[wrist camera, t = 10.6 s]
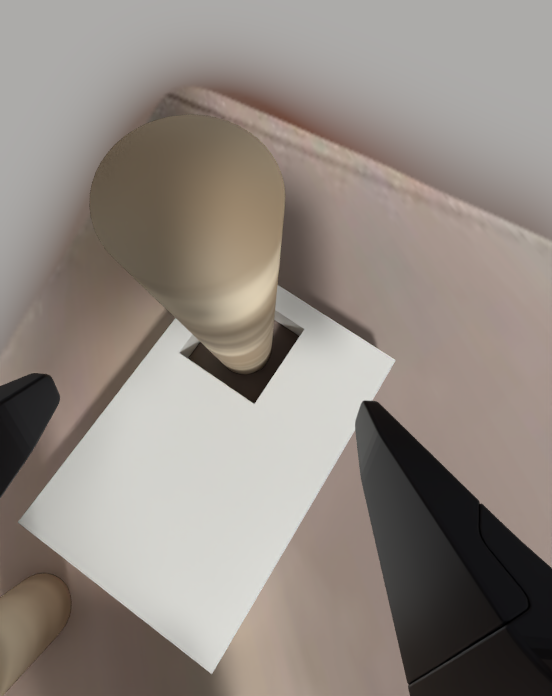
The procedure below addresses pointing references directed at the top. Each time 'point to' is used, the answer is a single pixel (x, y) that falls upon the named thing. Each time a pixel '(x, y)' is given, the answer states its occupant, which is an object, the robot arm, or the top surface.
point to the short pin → (30, 623)
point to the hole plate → (206, 477)
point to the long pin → (198, 228)
